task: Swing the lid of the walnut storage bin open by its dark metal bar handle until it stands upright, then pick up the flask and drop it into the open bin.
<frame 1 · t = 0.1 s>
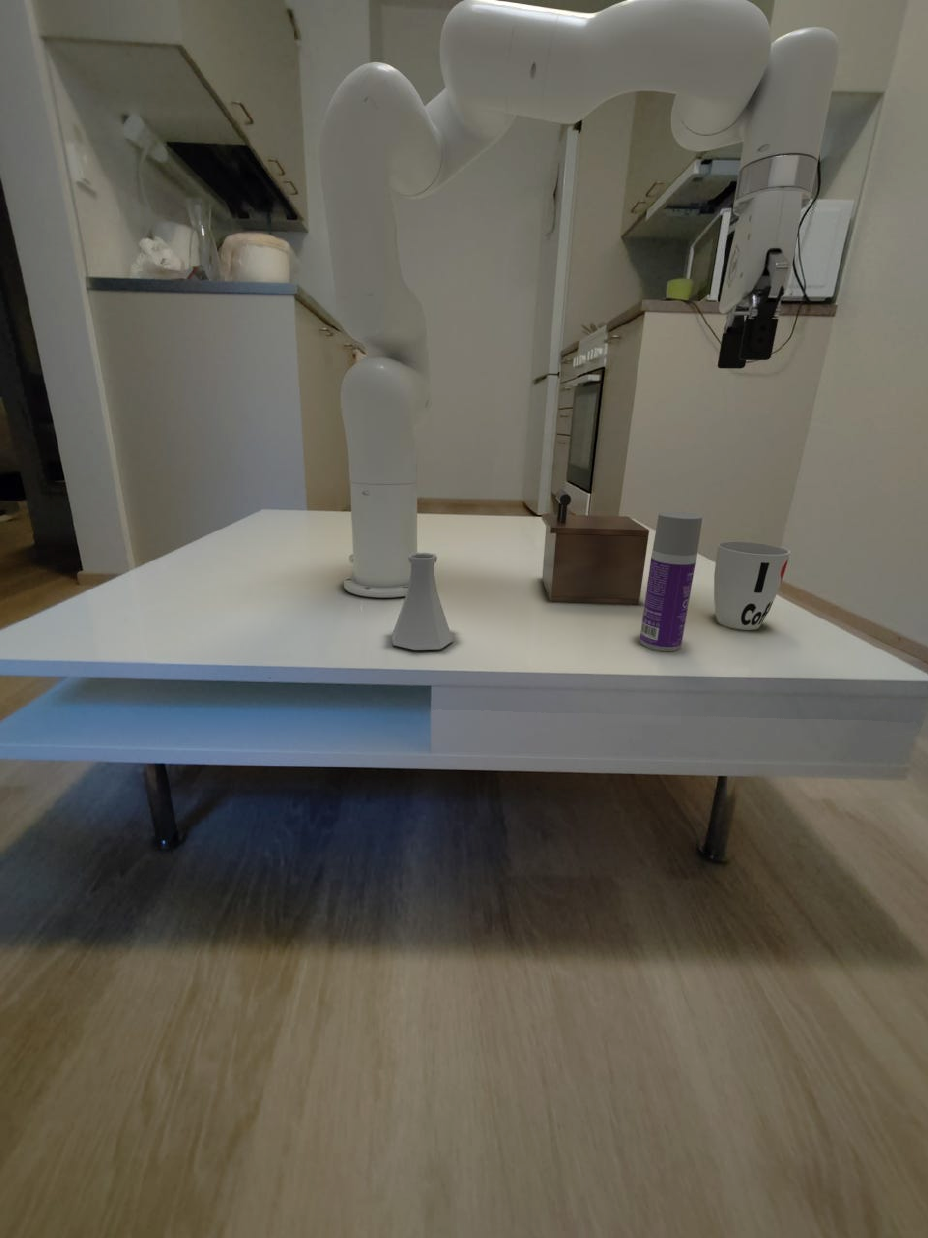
hand: (741, 364, 65), 31 cm above the table, tool pointing down, fingers open, 9 cm apart
flask: (422, 641, 63), on the table
cup: (737, 624, 72), on the table
bin lid: (593, 510, 79), point 12 cm above the table, hinge at 0.0°
bin: (587, 591, 83), on the table
container: (659, 645, 64), on the table
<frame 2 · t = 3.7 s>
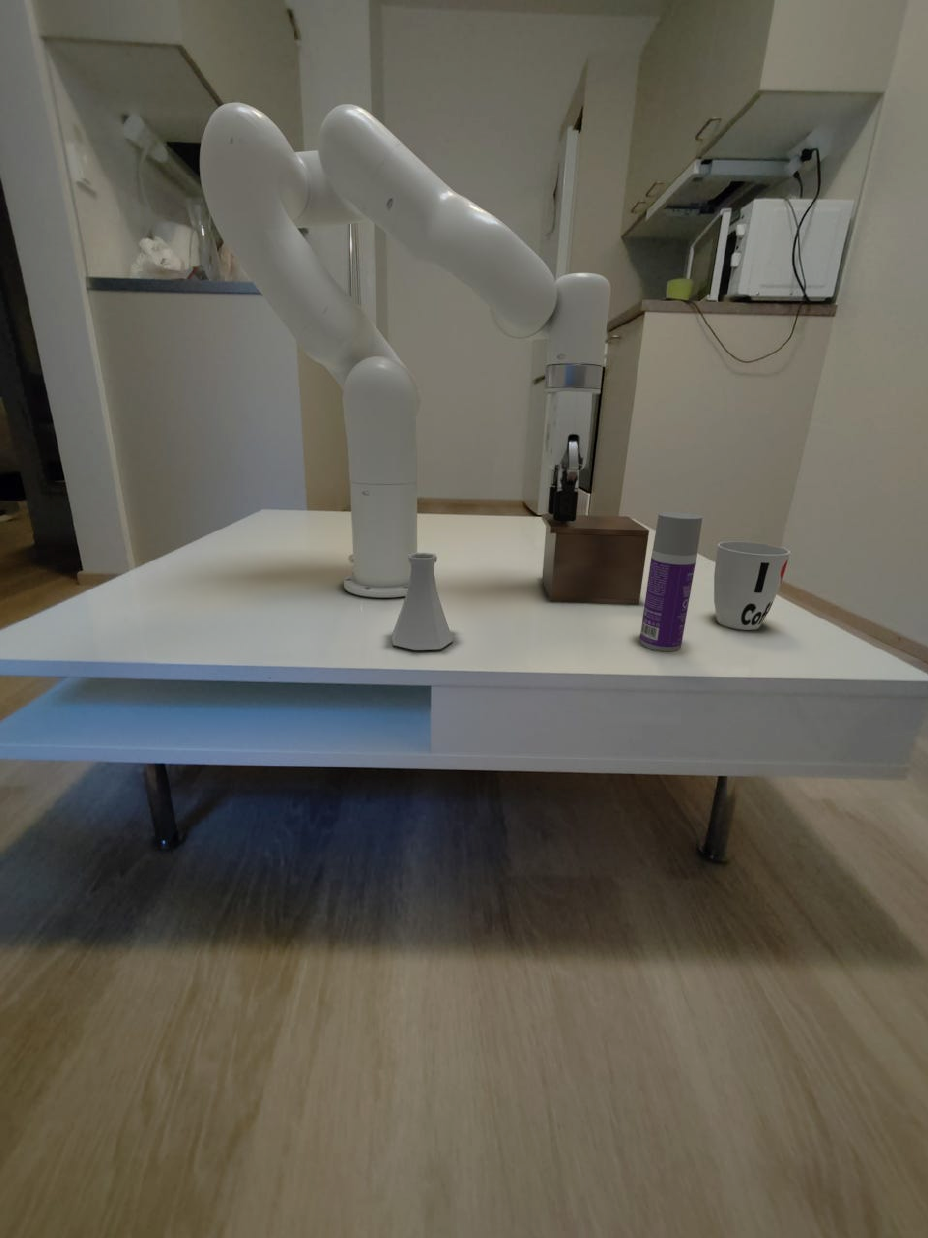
hand: (561, 515, 80), 11 cm above the table, tool pointing down, fingers closed on bin lid, 5 cm apart
bin lid: (593, 510, 79), point 12 cm above the table, hinge at 0.0°, touching gripper
everything else where it was.
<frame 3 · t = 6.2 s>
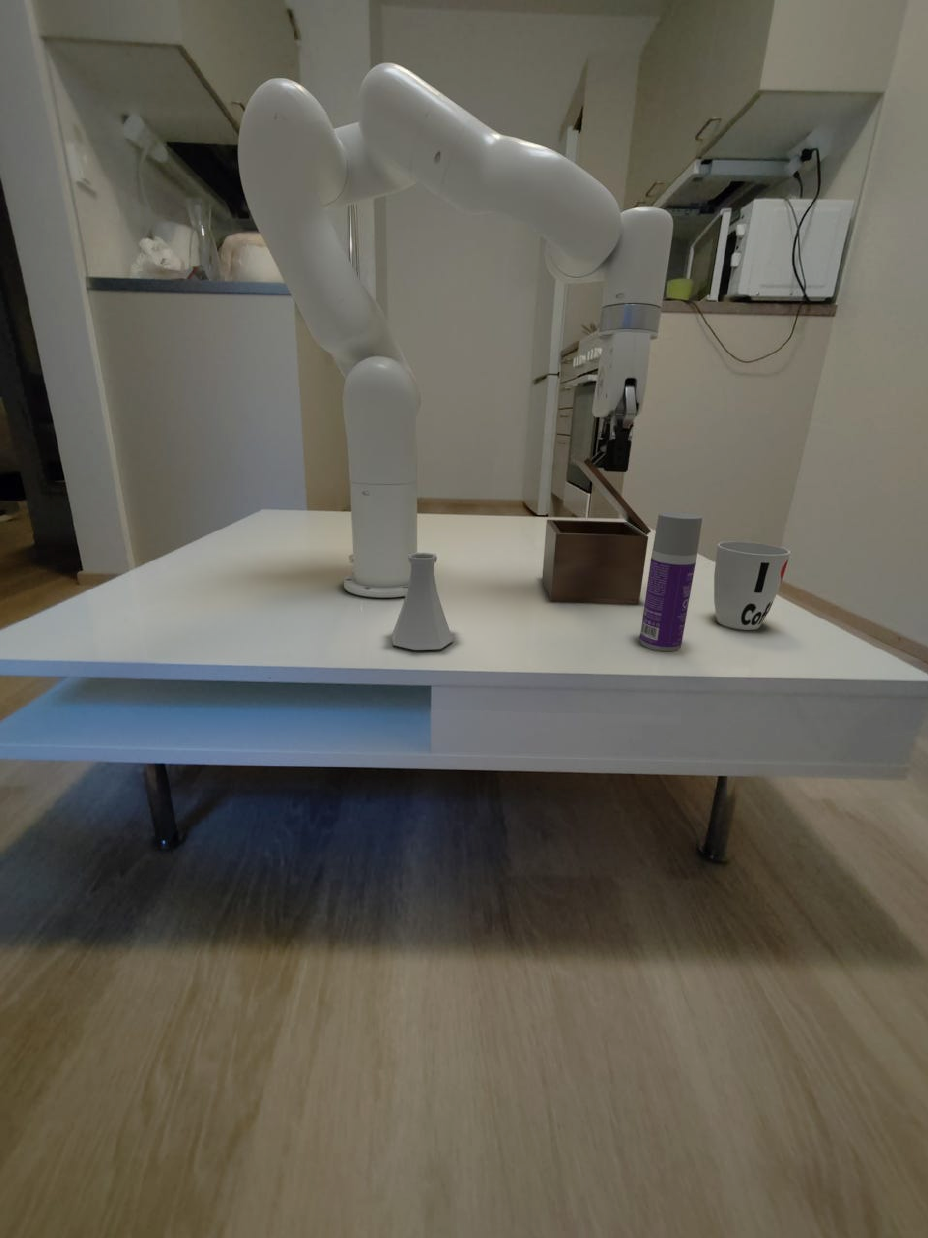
hand: (610, 468, 77), 18 cm above the table, tool pointing down, fingers closed on bin lid, 5 cm apart
bin lid: (619, 481, 78), point 16 cm above the table, hinge at 44.6°, touching gripper
everything else where it was.
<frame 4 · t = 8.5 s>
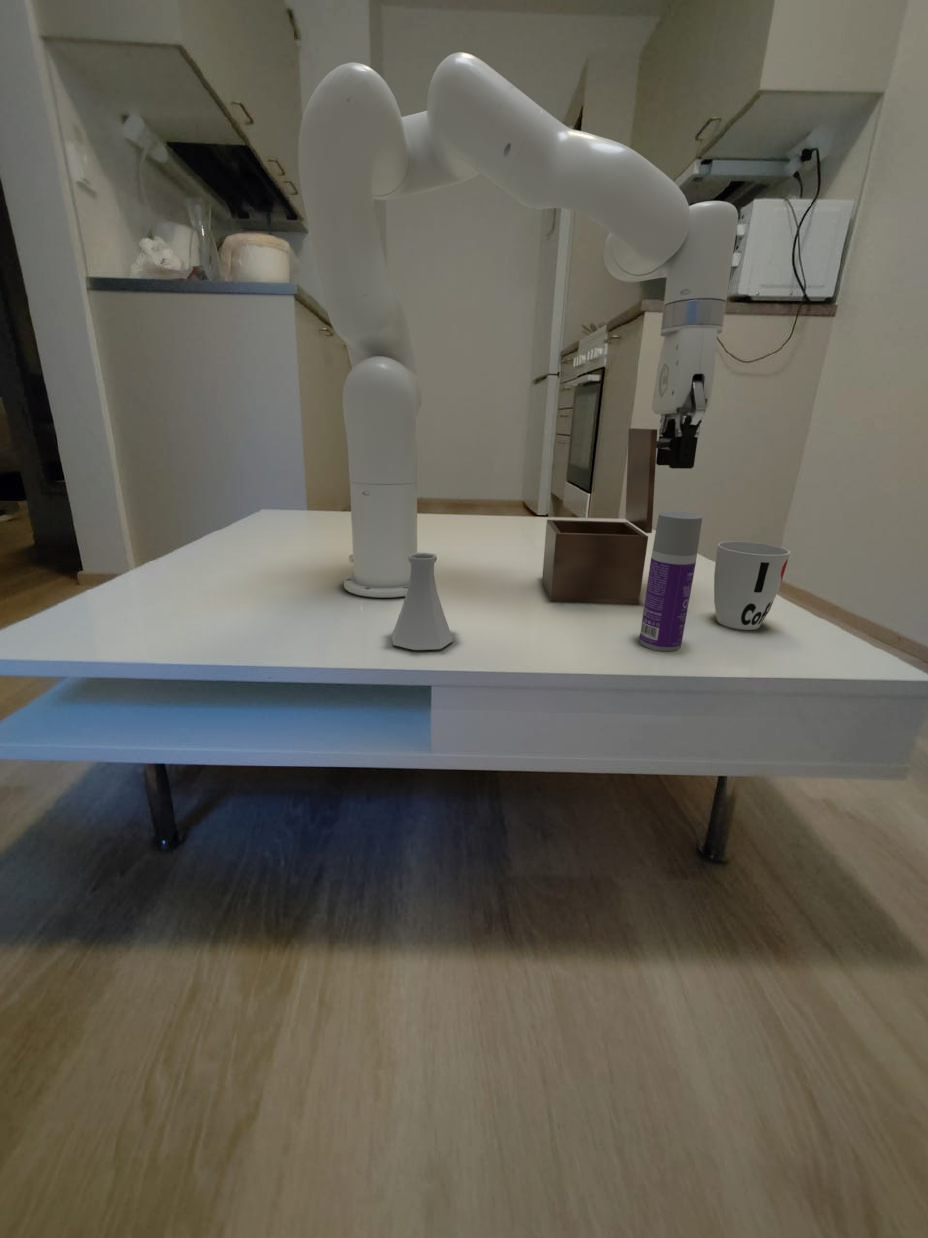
hand: (674, 465, 77), 19 cm above the table, tool pointing down, fingers closed on bin lid, 5 cm apart
bin lid: (654, 477, 77), point 17 cm above the table, hinge at 85.0°, touching gripper
everything else where it was.
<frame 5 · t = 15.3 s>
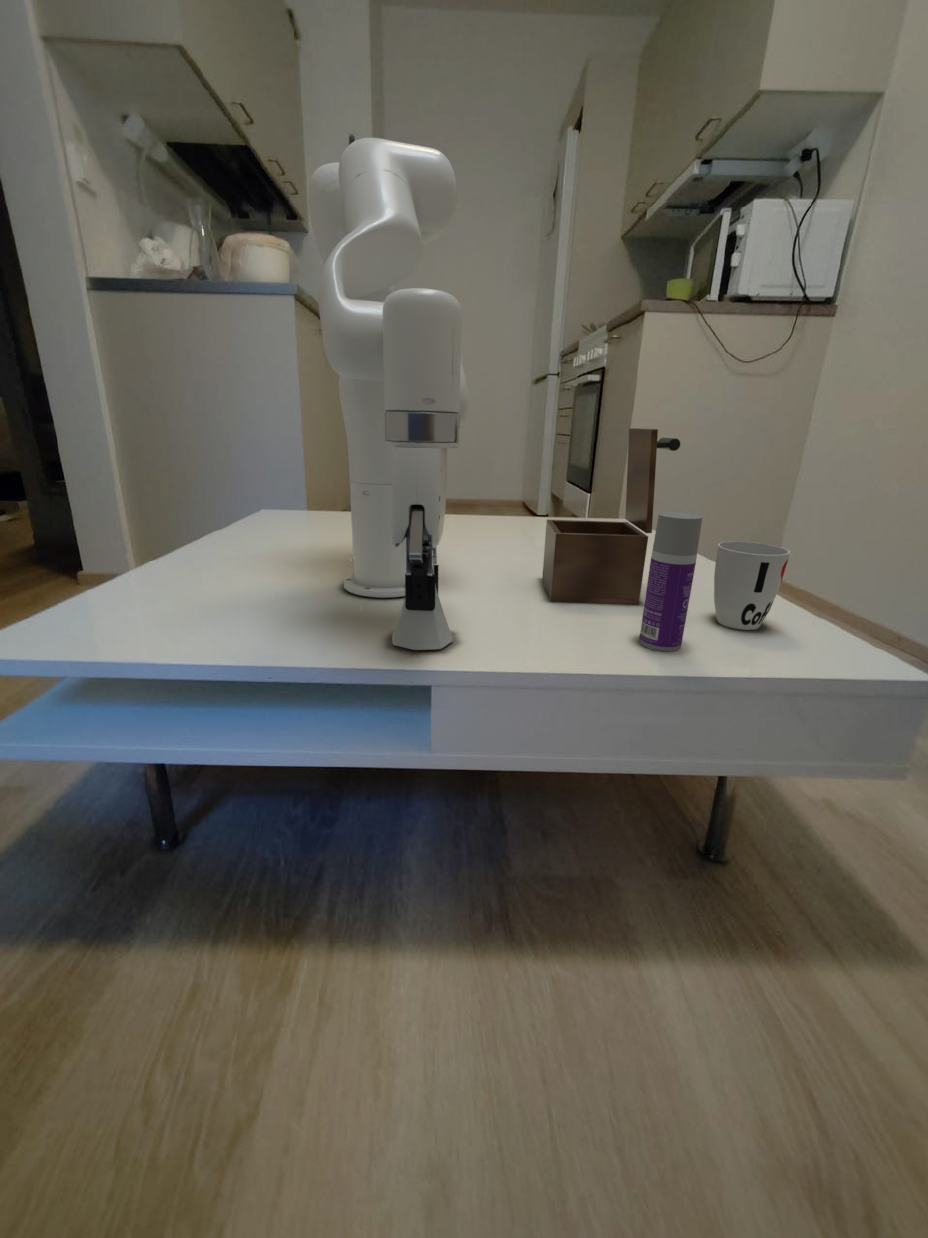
hand: (422, 602, 62), 5 cm above the table, tool pointing down, fingers closed on flask, 3 cm apart
flask: (422, 641, 63), on the table, touching gripper
bin lid: (654, 477, 77), point 17 cm above the table, hinge at 85.3°
everything else where it was.
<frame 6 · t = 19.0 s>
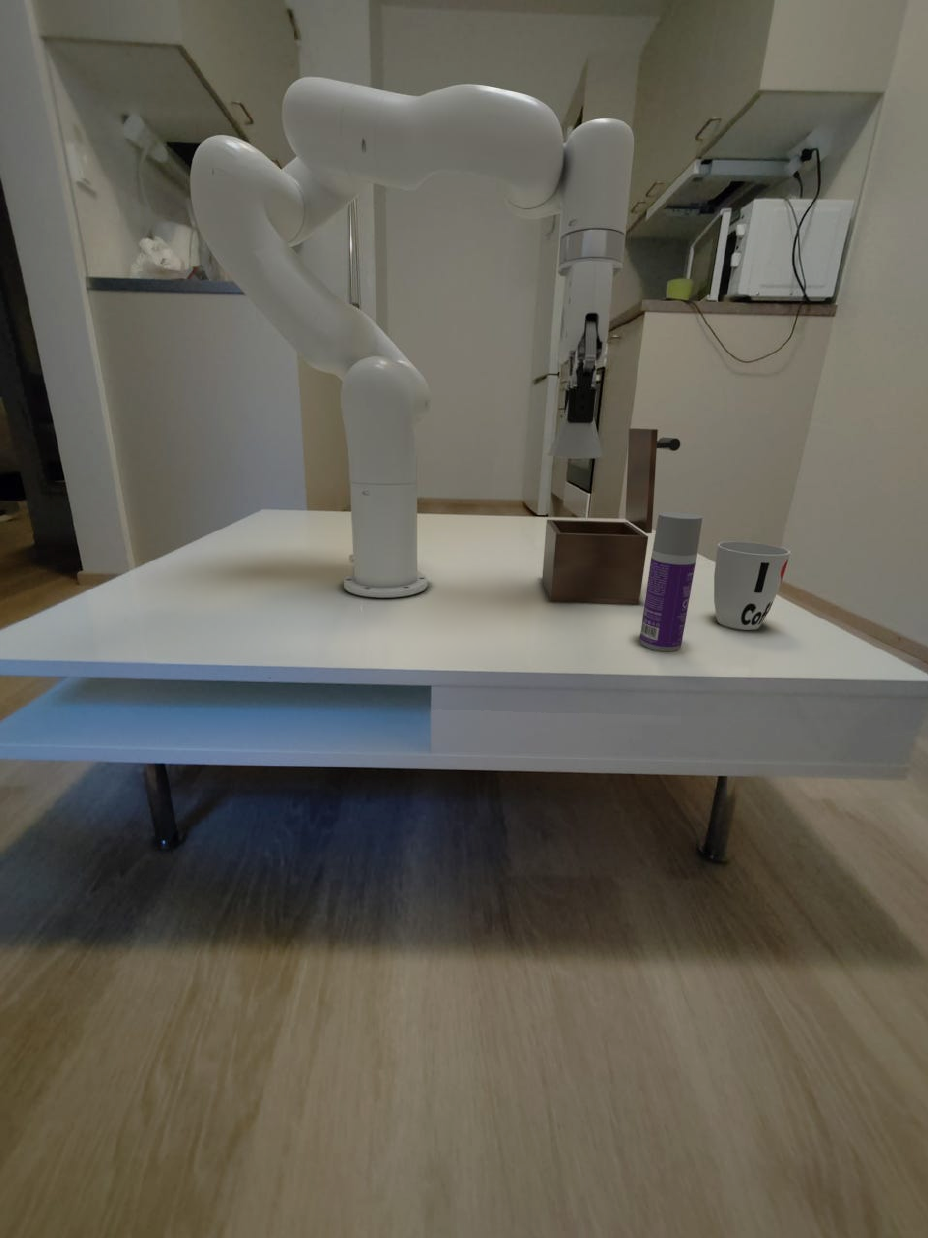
hand: (577, 420, 71), 24 cm above the table, tool pointing down, fingers closed on flask, 3 cm apart
flask: (575, 459, 73), point 20 cm above the table, touching gripper
everything else where it was.
when the fingers open (12 cm above the table, at t = 22.9 s): flask drops 6 cm, resting on bin.
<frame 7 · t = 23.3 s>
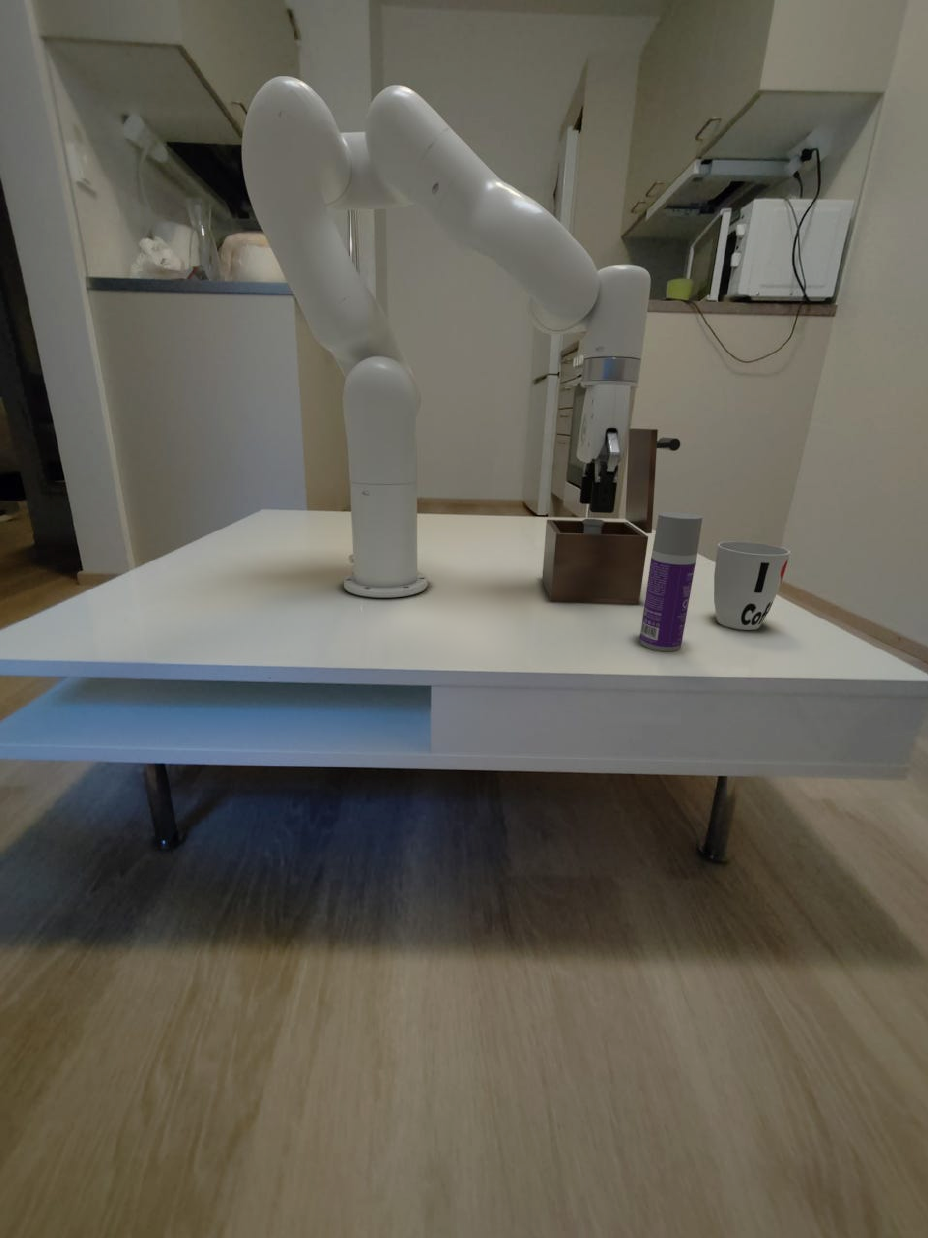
hand: (595, 507, 79), 13 cm above the table, tool pointing down, fingers open, 7 cm apart
flask: (586, 587, 83), point 1 cm above the table, touching bin
everything else where it was.
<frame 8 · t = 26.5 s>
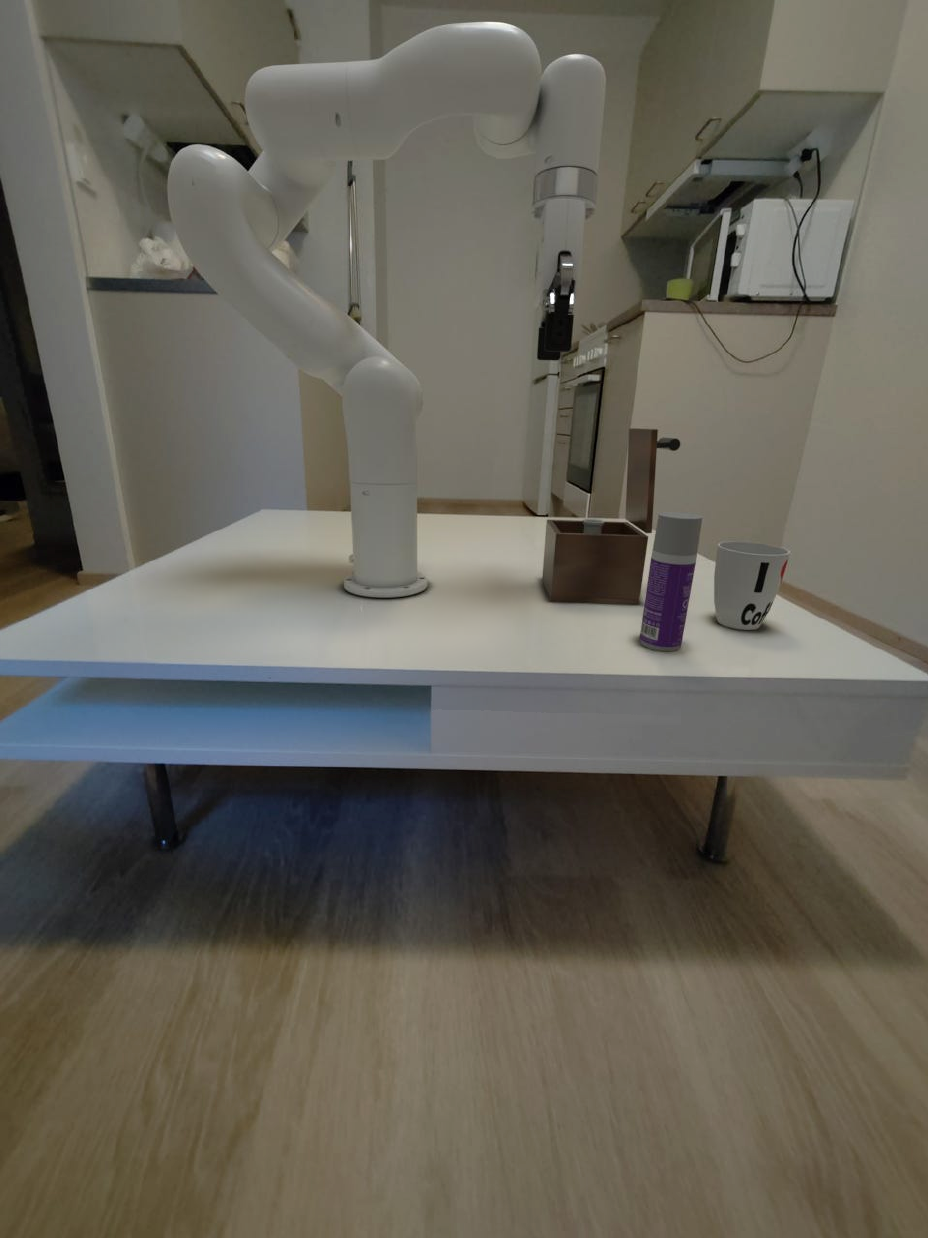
hand: (552, 355, 71), 32 cm above the table, tool pointing down, fingers open, 9 cm apart
nothing on the table moved.
at the end: bin lid at +85° (first picture: +0°); flask inside the target area in the bin (0.1 cm from its centre), point 0.6 cm above the bin's base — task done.
